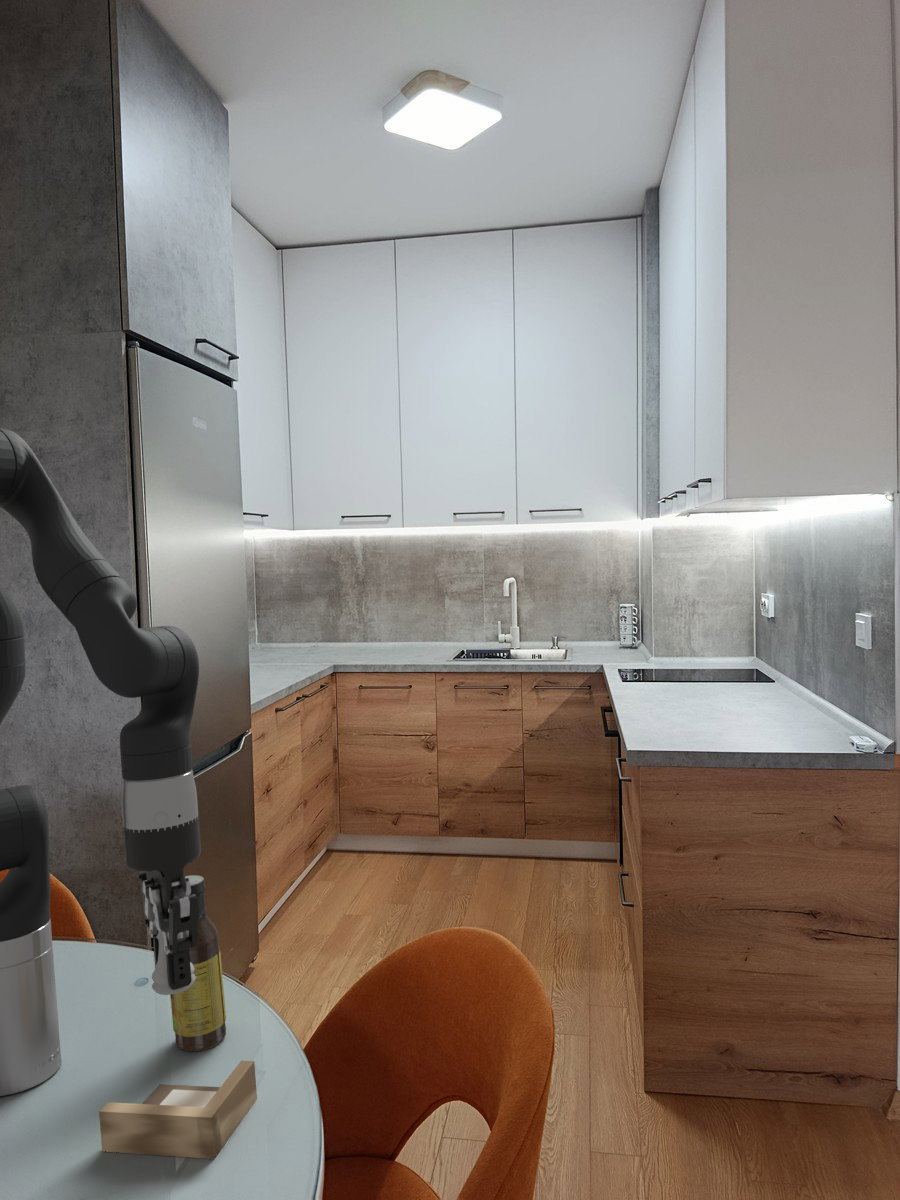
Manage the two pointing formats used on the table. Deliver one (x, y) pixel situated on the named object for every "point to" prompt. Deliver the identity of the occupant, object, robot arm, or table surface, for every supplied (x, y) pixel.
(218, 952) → the sauce bottle
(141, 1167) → the table surface
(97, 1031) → the table surface
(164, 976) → the rook chess piece
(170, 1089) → the wooden tray
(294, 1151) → the table surface
